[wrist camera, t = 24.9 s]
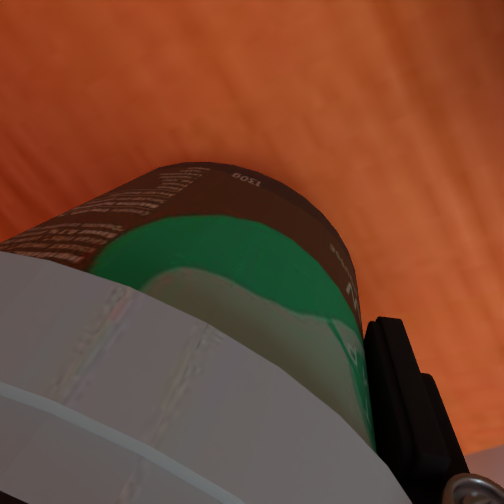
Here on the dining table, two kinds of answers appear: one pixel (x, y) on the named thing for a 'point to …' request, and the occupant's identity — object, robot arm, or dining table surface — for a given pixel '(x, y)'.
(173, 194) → the food container
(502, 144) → the dining table surface
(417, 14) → the dining table surface
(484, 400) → the dining table surface
